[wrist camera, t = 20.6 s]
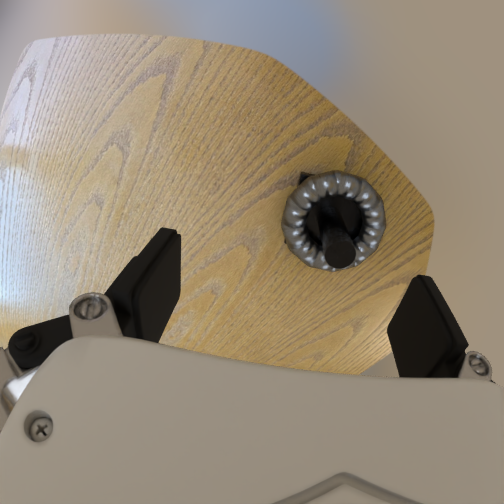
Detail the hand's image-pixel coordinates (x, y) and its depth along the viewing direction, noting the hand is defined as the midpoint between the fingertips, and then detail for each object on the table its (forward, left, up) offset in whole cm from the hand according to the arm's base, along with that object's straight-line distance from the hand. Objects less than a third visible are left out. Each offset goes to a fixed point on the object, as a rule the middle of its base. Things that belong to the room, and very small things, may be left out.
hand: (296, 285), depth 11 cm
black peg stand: (+6, +6, -25) cm, 26 cm away
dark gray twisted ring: (+6, +7, -22) cm, 24 cm away
